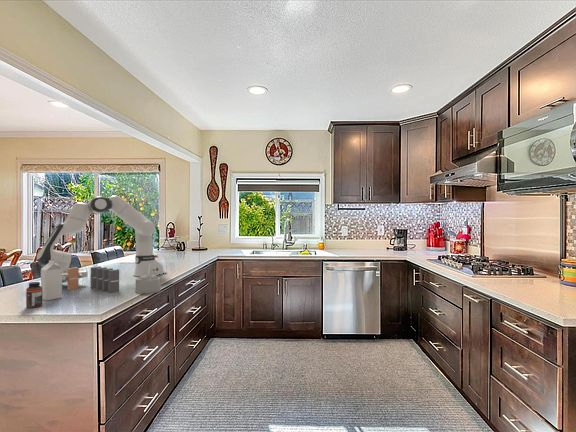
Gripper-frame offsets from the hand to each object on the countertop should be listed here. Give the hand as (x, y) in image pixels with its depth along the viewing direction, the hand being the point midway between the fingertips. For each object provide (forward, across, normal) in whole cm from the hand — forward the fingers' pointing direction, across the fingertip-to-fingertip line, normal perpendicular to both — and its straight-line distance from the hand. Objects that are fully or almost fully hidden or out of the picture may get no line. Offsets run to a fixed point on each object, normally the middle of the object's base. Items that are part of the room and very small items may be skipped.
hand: (73, 277), depth 190 cm
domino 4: (+25, +9, +7) cm, 28 cm away
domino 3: (+19, +9, +7) cm, 22 cm away
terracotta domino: (-1, 0, +7) cm, 7 cm away
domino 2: (+12, +9, +7) cm, 17 cm away
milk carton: (+14, -17, +7) cm, 23 cm away
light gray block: (+39, +22, +7) cm, 46 cm away
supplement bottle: (+25, -28, +7) cm, 38 cm away
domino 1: (+6, +10, +7) cm, 13 cm away
